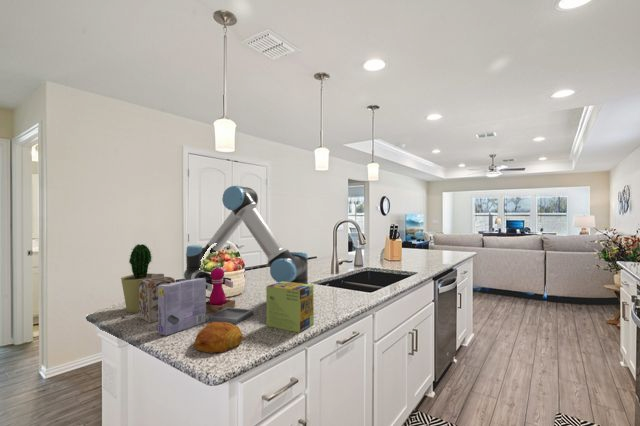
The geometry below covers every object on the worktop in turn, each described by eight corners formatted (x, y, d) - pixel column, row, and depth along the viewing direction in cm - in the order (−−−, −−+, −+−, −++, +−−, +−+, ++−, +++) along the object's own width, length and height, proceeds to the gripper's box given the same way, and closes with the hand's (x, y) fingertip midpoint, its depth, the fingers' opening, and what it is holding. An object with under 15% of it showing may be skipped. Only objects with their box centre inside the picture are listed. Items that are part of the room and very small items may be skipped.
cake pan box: (200, 319, 135) (200, 276, 135) (209, 321, 132) (208, 277, 132) (156, 334, 118) (156, 285, 118) (165, 337, 116) (165, 286, 116)
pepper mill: (206, 309, 149) (205, 264, 149) (220, 305, 154) (220, 263, 154) (214, 312, 144) (214, 266, 144) (229, 308, 149) (228, 264, 149)
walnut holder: (235, 306, 152) (235, 300, 152) (220, 313, 142) (220, 306, 142) (214, 304, 156) (214, 298, 156) (199, 311, 145) (199, 304, 145)
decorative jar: (148, 323, 130) (148, 278, 130) (138, 317, 138) (137, 274, 138) (178, 316, 139) (178, 273, 139) (167, 311, 146) (166, 270, 146)
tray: (253, 314, 140) (253, 309, 140) (236, 324, 128) (236, 319, 128) (226, 311, 144) (226, 307, 144) (208, 321, 132) (208, 316, 132)
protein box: (300, 333, 119) (300, 290, 119) (265, 326, 126) (265, 285, 126) (314, 324, 128) (314, 284, 128) (281, 318, 135) (281, 280, 135)
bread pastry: (214, 340, 118) (212, 318, 119) (250, 340, 112) (247, 316, 113) (183, 355, 105) (180, 330, 105) (222, 356, 99) (219, 329, 99)
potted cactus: (114, 314, 142) (113, 244, 142) (131, 304, 157) (130, 241, 157) (151, 313, 143) (150, 244, 143) (164, 303, 158) (164, 241, 158)
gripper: (222, 283, 170) (244, 290, 153) (179, 290, 155) (197, 299, 138) (222, 268, 170) (244, 274, 153) (178, 274, 155) (197, 281, 138)
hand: (222, 286), depth 146 cm, fingers open, 9 cm apart
